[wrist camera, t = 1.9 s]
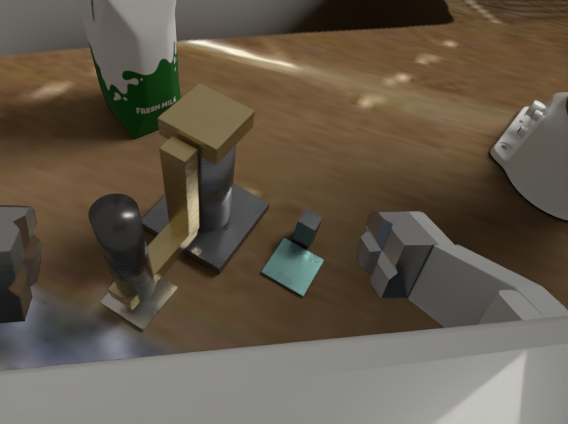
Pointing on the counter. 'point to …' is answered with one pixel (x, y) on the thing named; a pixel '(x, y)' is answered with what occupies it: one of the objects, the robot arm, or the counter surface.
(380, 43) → the counter surface
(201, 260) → the post
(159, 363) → the robot arm
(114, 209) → the lever
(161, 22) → the milk carton
